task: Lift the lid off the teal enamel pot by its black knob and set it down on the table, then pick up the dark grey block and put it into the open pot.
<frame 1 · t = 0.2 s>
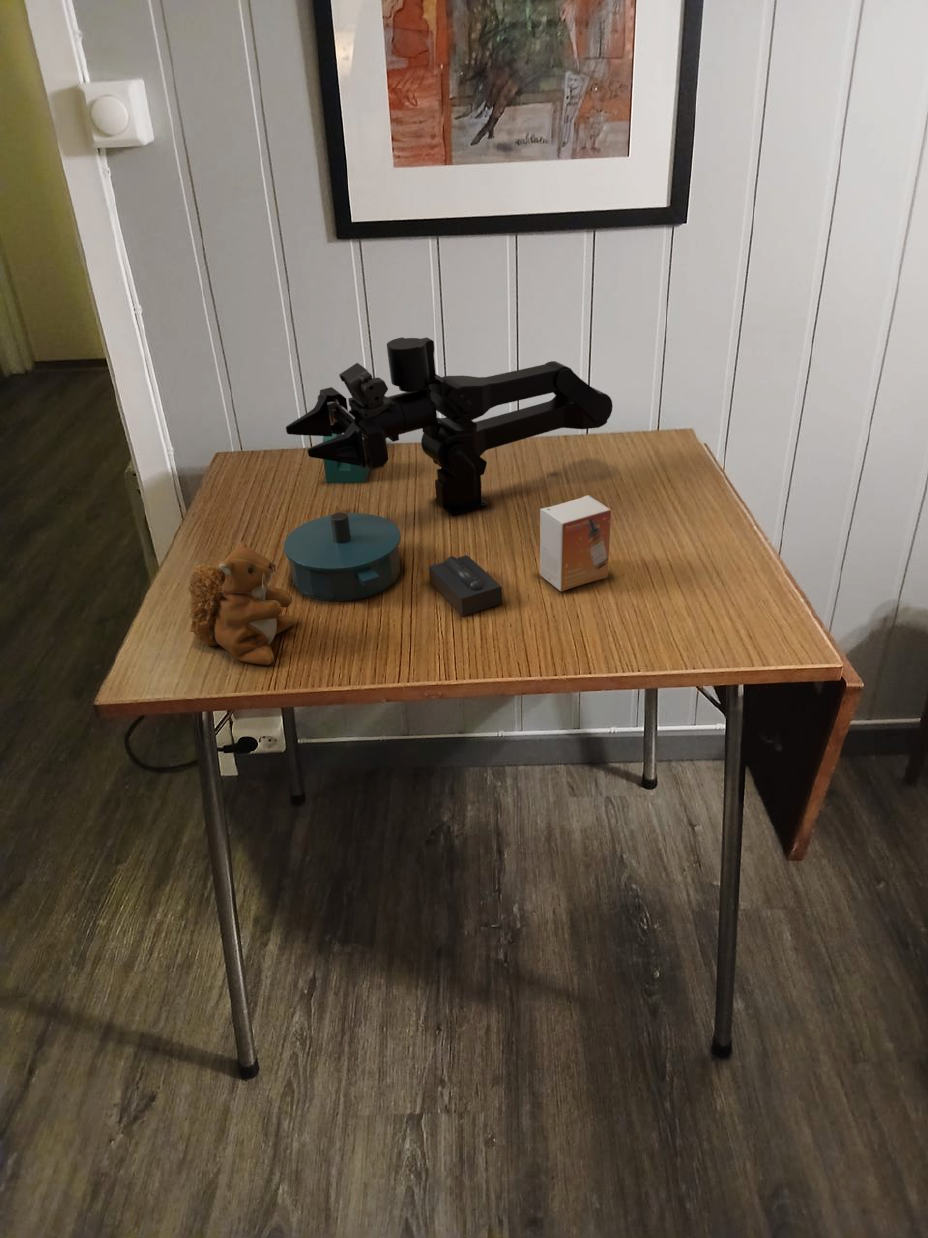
hand: (297, 441, 132), 17 cm above the table, tool horizontal, fingers open, 9 cm apart
lid: (342, 542, 131), point 5 cm above the table, touching pot
pot: (346, 573, 134), on the table
stuffed squirrel: (242, 641, 120), on the table
dark grey block: (465, 593, 127), on the table
bracket: (355, 462, 167), on the table
small box: (573, 577, 130), on the table
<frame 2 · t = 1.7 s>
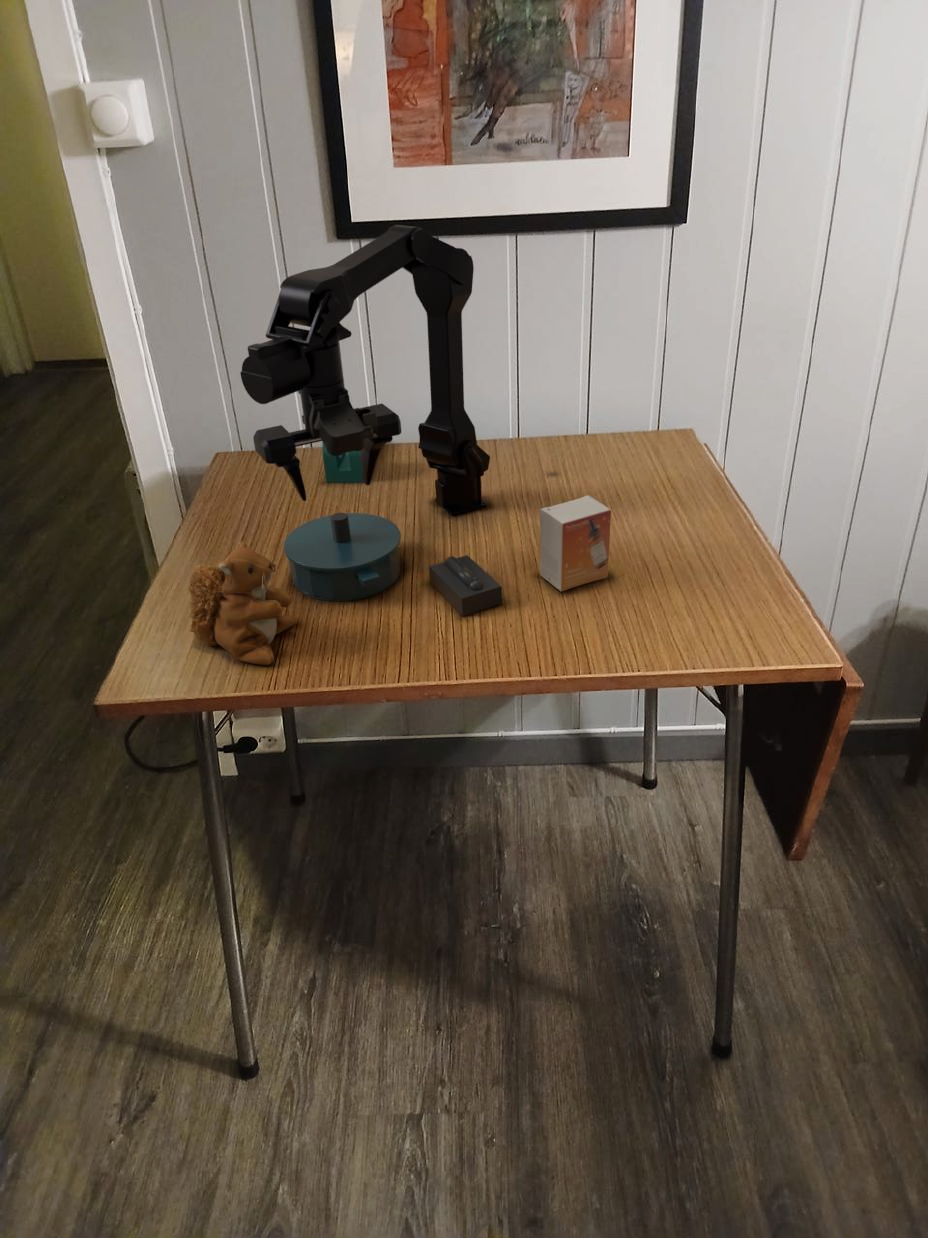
hand: (336, 491, 127), 13 cm above the table, tool pointing down, fingers open, 9 cm apart
nothing on the table moved.
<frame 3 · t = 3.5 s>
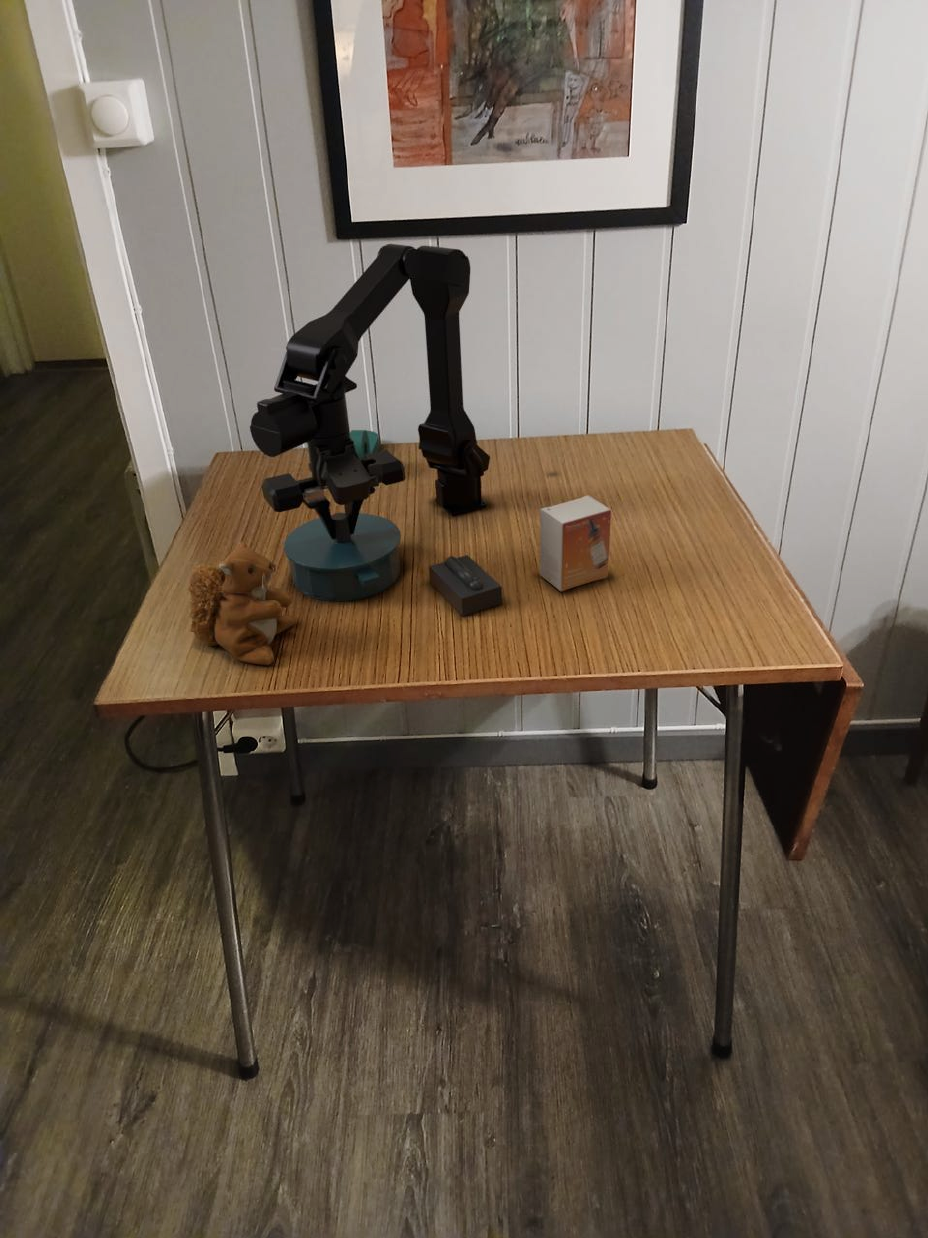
hand: (341, 535, 130), 6 cm above the table, tool pointing down, fingers closed on lid, 2 cm apart
lid: (342, 542, 131), point 5 cm above the table, touching gripper, pot
everything else where it was.
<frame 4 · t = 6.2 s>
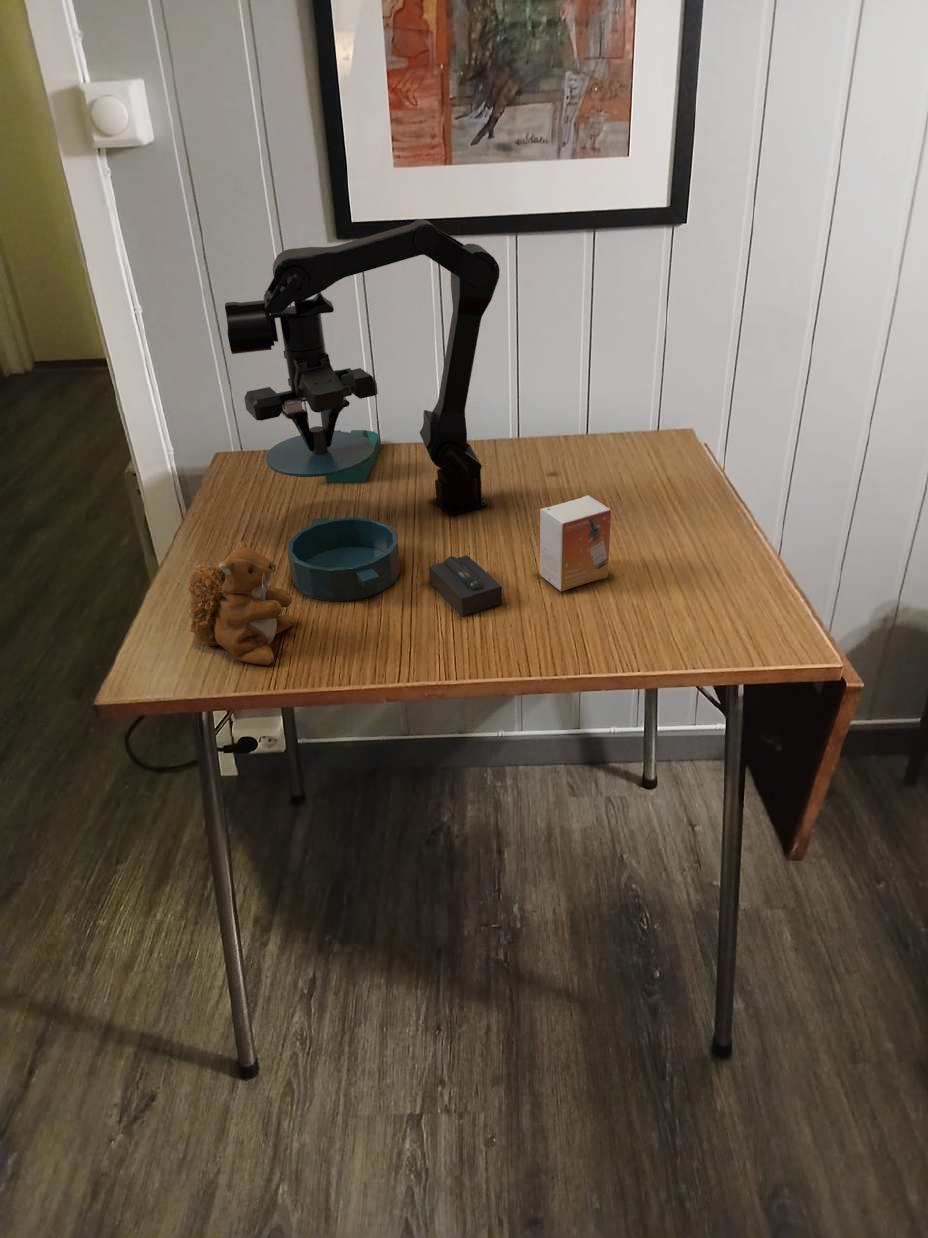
hand: (319, 448, 141), 12 cm above the table, tool pointing down, fingers closed on lid, 2 cm apart
lid: (320, 454, 141), point 11 cm above the table, touching gripper
everything else where it was.
when the fingers open (2 cm above the table, at t = 9.0 s): lid stays where it is, point 1 cm above the table.
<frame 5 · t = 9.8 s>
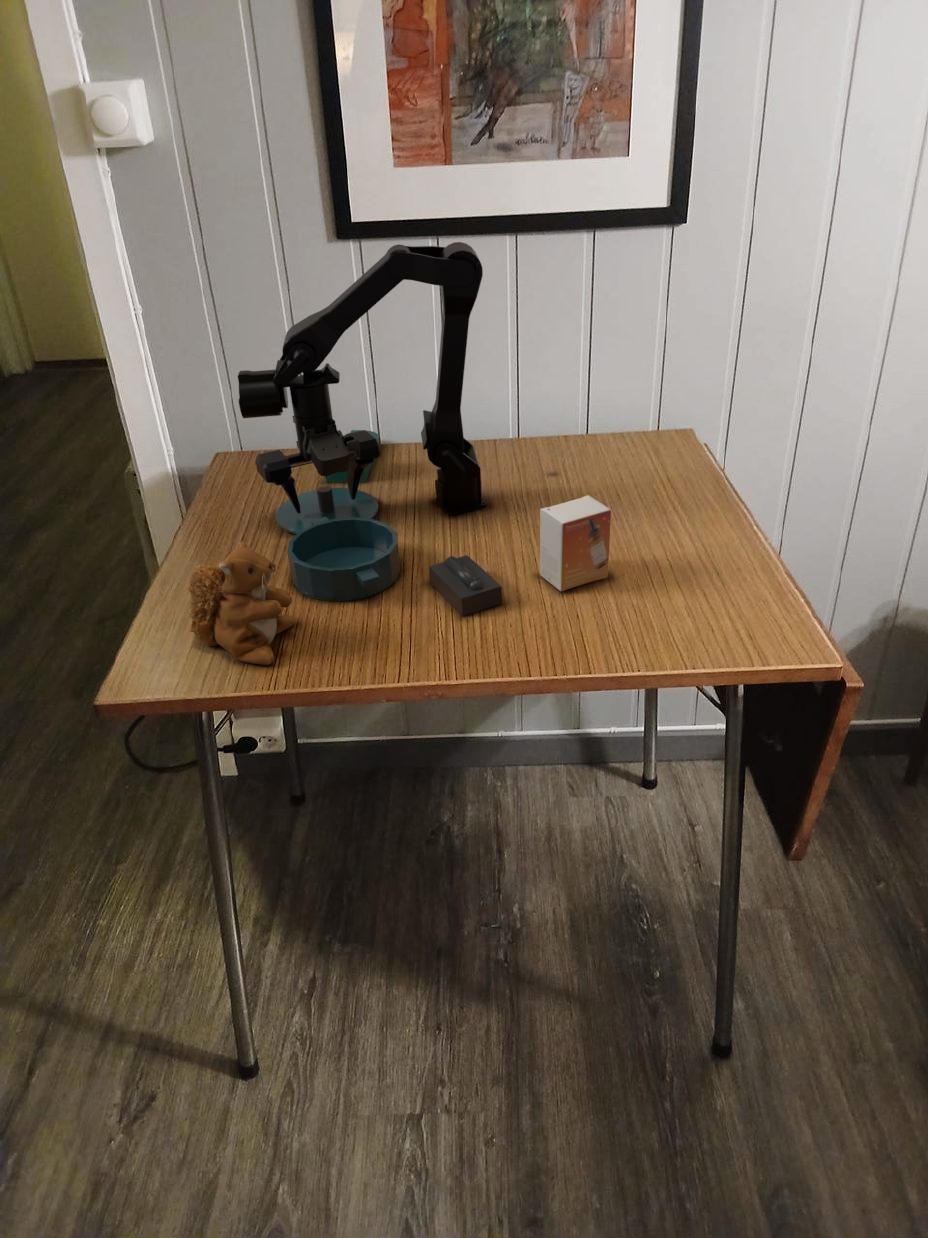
hand: (325, 505, 148), 2 cm above the table, tool pointing down, fingers open, 9 cm apart
lid: (327, 512, 149), point 1 cm above the table
everything else where it was.
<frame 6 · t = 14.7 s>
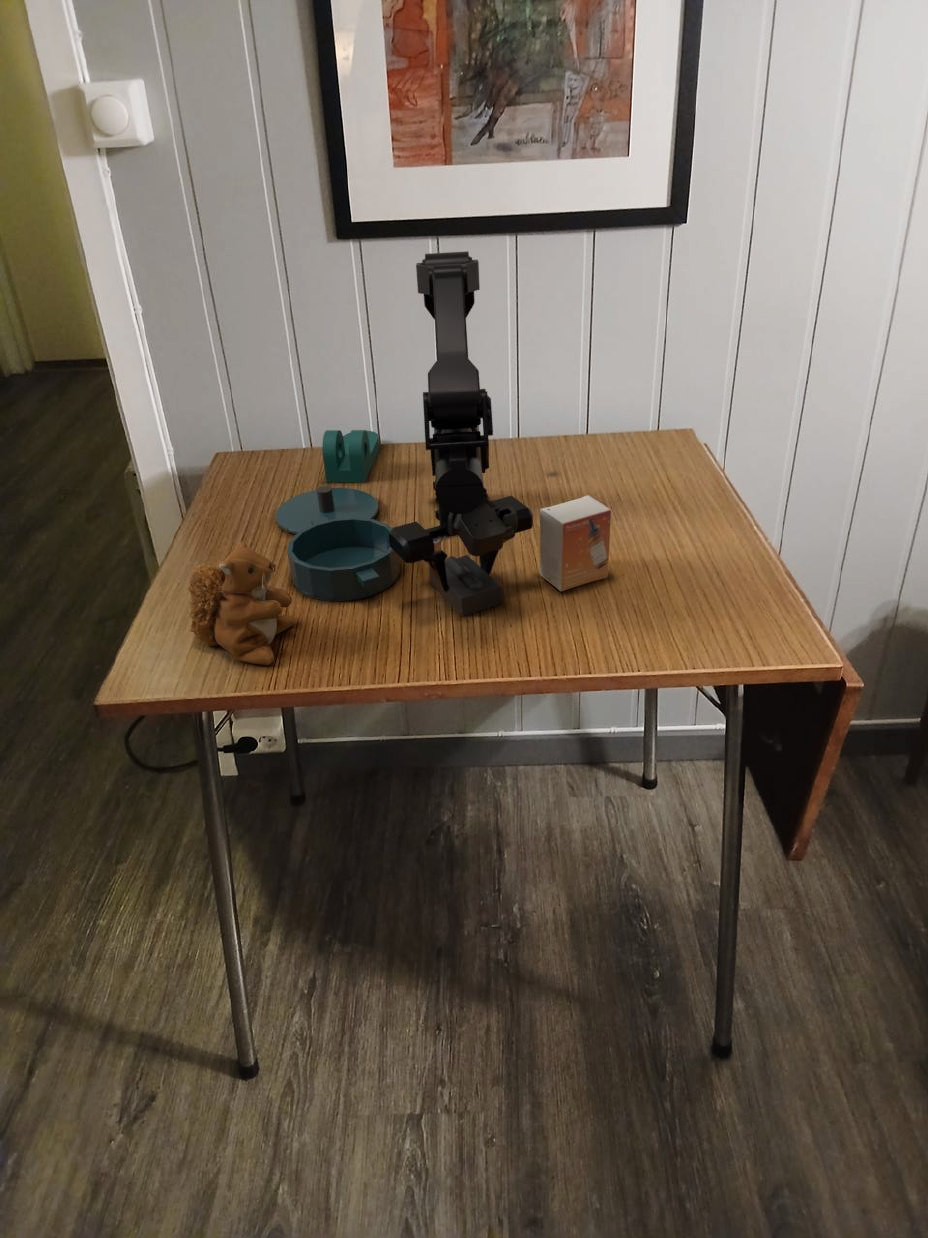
hand: (464, 583, 126), 2 cm above the table, tool pointing down, fingers closed on dark grey block, 6 cm apart
dark grey block: (465, 593, 127), on the table, touching gripper
everything else where it was.
when the fingers open (2 cm above the table, at t = 20.6 s): dark grey block stays where it is, resting on pot.
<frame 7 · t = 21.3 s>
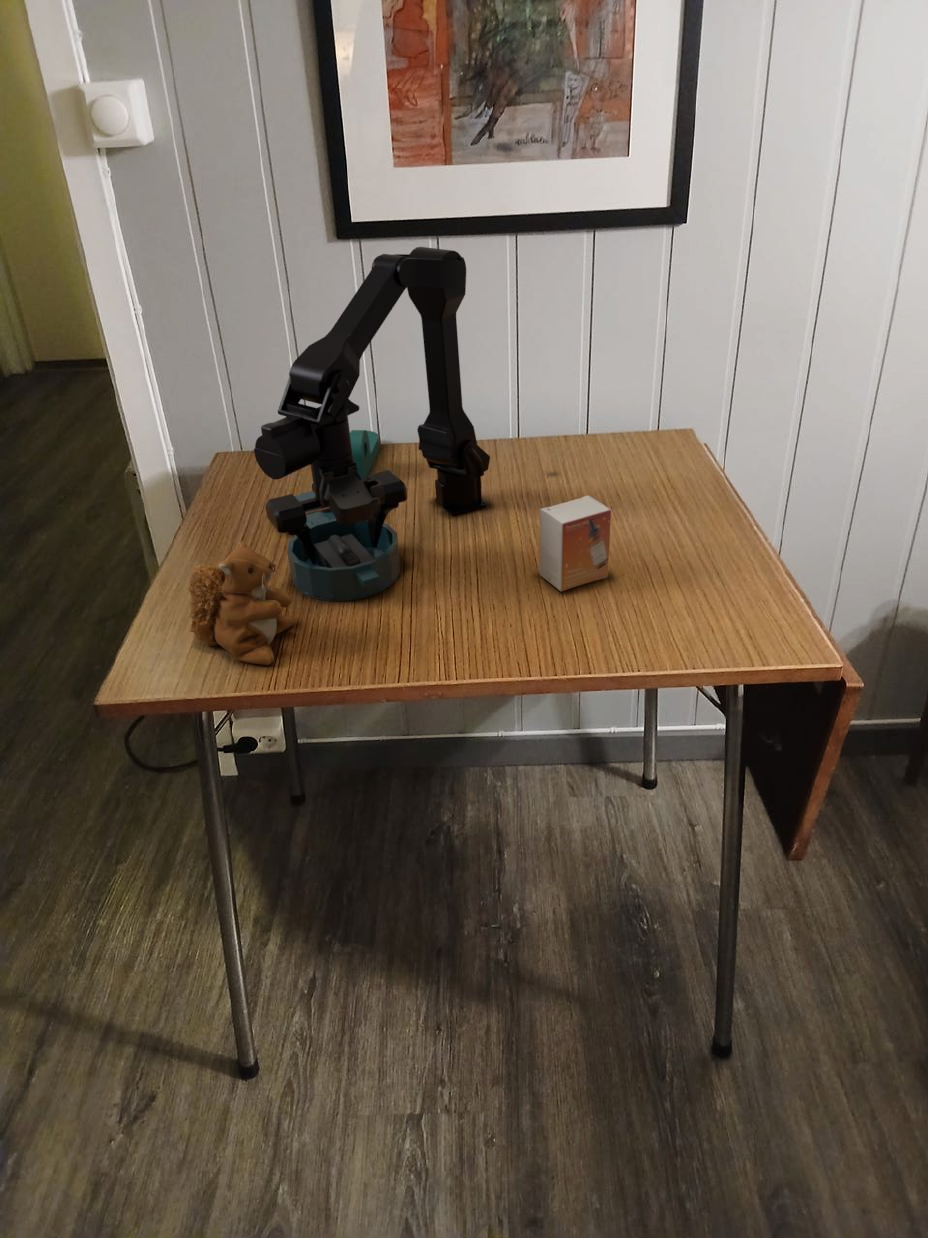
hand: (344, 554, 132), 3 cm above the table, tool pointing down, fingers open, 9 cm apart
dark grey block: (347, 569, 133), resting on pot
everything else where it was.
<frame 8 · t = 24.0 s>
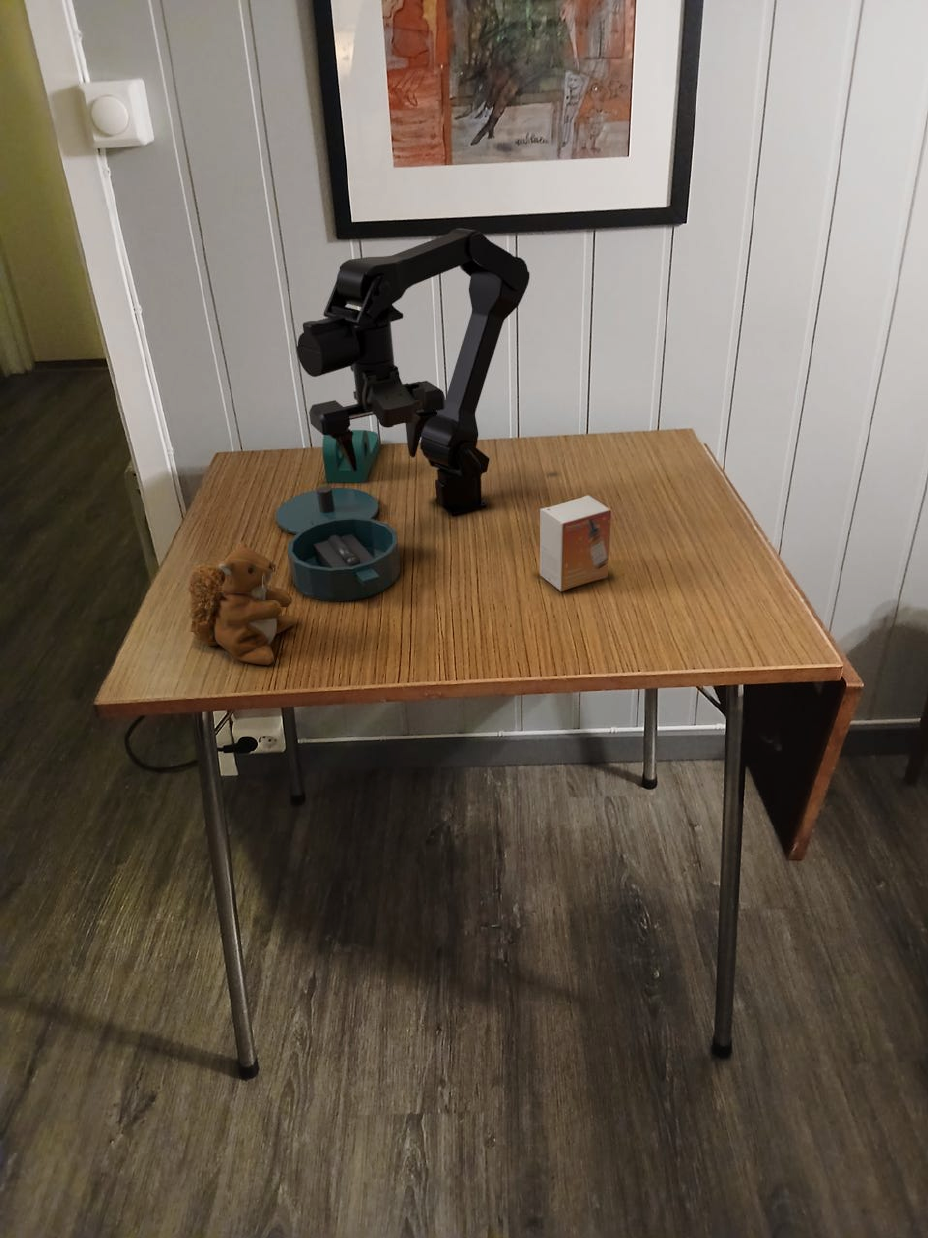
hand: (383, 463, 136), 12 cm above the table, tool pointing down, fingers open, 9 cm apart
nothing on the table moved.
at the end: lid inside the target area (0.1 cm from its centre), point 0.6 cm above the table; dark grey block inside the target area in the pot (0.1 cm from its centre), point 0.5 cm above the pot's base; the gripper is holding nothing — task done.
